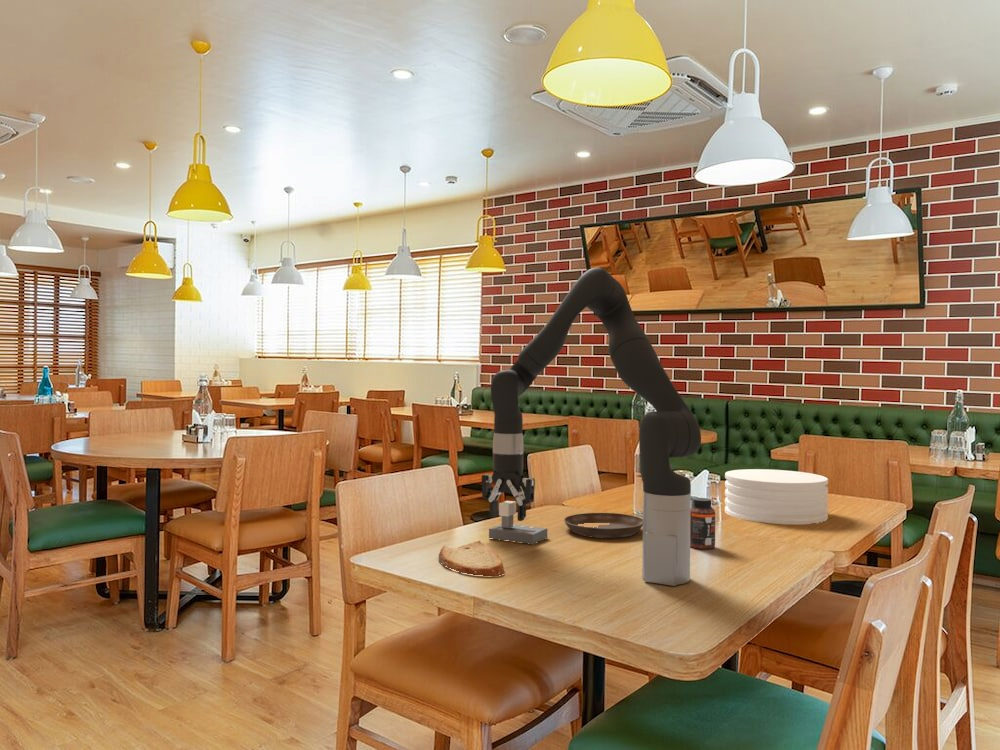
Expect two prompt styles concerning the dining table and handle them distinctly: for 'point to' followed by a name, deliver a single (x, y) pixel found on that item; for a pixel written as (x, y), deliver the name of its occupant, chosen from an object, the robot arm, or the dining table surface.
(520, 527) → the console panel
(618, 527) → the plant saucer
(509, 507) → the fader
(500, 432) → the robot arm
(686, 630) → the dining table surface
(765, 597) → the dining table surface
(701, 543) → the supplement bottle
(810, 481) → the plate stack
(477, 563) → the bread slice
